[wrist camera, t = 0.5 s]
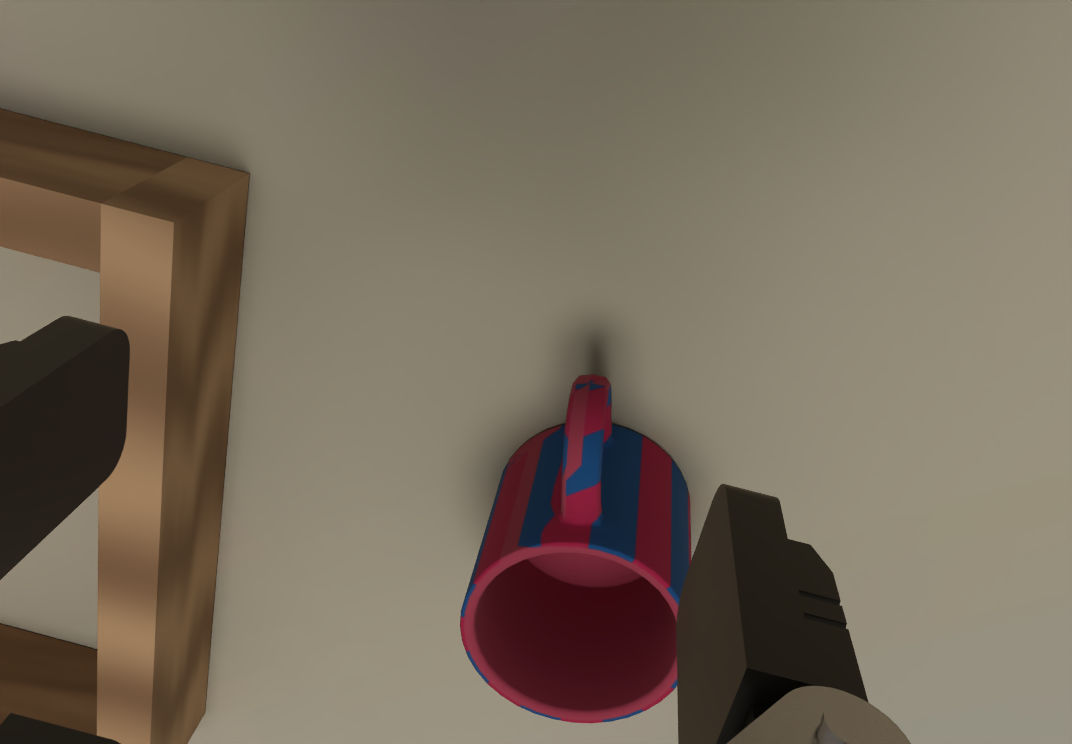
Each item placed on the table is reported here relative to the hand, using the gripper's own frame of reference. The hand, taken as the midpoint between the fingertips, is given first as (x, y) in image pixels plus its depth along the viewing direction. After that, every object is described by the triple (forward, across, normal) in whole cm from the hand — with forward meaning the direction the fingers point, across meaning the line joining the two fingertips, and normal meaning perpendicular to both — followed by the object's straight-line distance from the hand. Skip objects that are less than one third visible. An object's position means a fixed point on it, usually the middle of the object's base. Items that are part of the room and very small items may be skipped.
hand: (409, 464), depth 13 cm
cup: (+18, -4, +9) cm, 21 cm away
